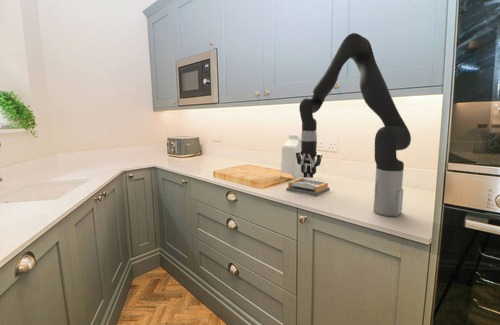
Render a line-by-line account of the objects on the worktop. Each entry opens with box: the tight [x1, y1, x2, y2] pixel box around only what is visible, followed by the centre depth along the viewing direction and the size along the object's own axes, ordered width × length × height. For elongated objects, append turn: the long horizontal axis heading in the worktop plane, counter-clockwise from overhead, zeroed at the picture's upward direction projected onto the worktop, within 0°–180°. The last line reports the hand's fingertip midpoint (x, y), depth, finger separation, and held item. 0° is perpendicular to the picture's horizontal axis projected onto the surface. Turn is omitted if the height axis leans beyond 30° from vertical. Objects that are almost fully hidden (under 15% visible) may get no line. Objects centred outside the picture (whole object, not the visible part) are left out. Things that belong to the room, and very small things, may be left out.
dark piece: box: [303, 158, 314, 179], centre depth 138 cm, size 7×5×10 cm
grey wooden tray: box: [291, 177, 326, 190], centre depth 139 cm, size 13×10×2 cm
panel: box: [285, 178, 331, 197], centre depth 139 cm, size 17×14×4 cm
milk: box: [280, 134, 307, 181], centre depth 167 cm, size 12×12×26 cm
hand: (308, 173), depth 138 cm, fingers closed on dark piece, 5 cm apart
